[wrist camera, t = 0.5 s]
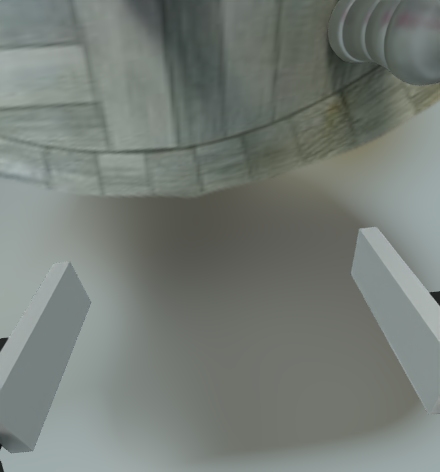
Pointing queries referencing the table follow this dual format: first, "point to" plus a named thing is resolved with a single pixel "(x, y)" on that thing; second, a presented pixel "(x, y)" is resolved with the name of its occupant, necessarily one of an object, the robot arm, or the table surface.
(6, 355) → the robot arm
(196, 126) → the table surface
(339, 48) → the plastic bottle
